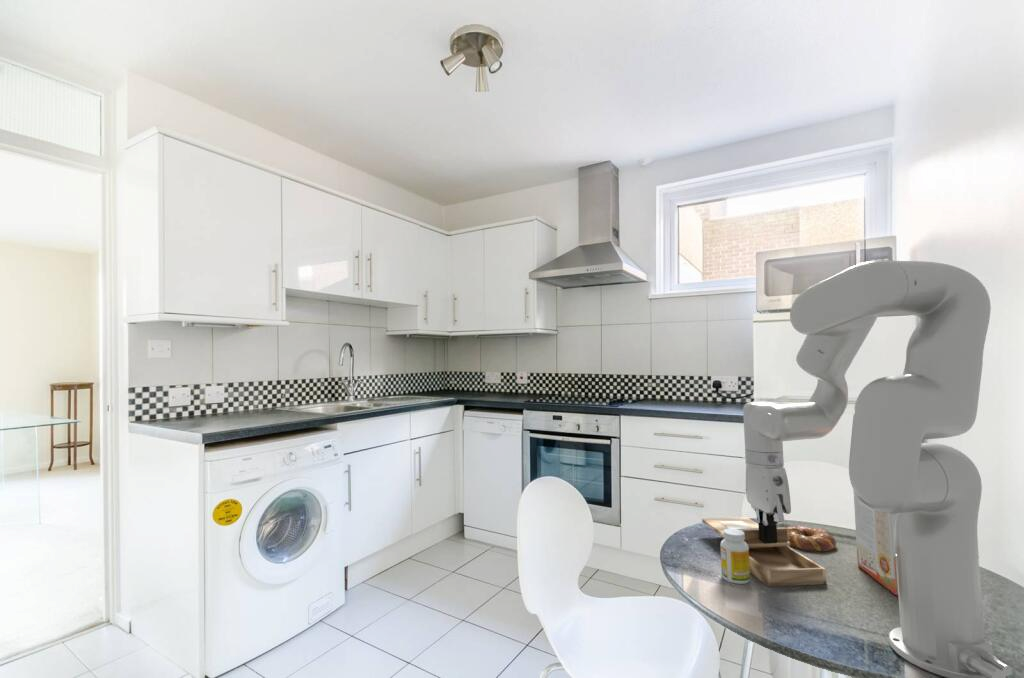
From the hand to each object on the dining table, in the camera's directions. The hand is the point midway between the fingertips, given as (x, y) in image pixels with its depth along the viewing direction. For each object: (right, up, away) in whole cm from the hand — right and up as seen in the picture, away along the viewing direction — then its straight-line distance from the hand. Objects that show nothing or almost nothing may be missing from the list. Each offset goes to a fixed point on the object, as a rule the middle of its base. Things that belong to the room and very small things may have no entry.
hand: (768, 541), depth 104 cm
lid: (0, -2, +11) cm, 11 cm away
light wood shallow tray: (0, -5, -1) cm, 5 cm away
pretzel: (+16, -6, +12) cm, 21 cm away
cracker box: (+20, -4, -9) cm, 22 cm away
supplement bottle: (-10, -5, -6) cm, 13 cm away
